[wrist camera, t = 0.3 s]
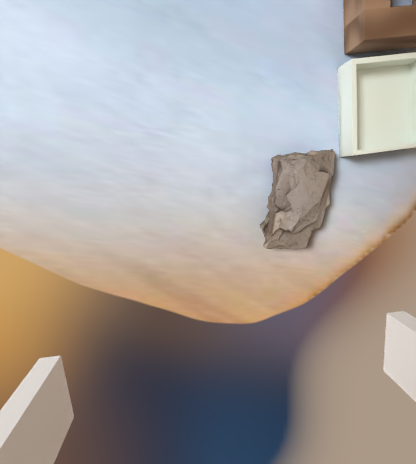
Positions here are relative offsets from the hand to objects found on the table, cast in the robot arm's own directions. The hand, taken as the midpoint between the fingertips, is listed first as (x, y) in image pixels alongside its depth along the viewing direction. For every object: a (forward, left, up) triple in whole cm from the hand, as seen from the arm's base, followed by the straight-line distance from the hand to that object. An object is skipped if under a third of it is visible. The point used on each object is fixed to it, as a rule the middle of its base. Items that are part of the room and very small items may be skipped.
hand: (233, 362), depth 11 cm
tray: (-13, +26, -28) cm, 40 cm away
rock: (-3, +14, -28) cm, 31 cm away
